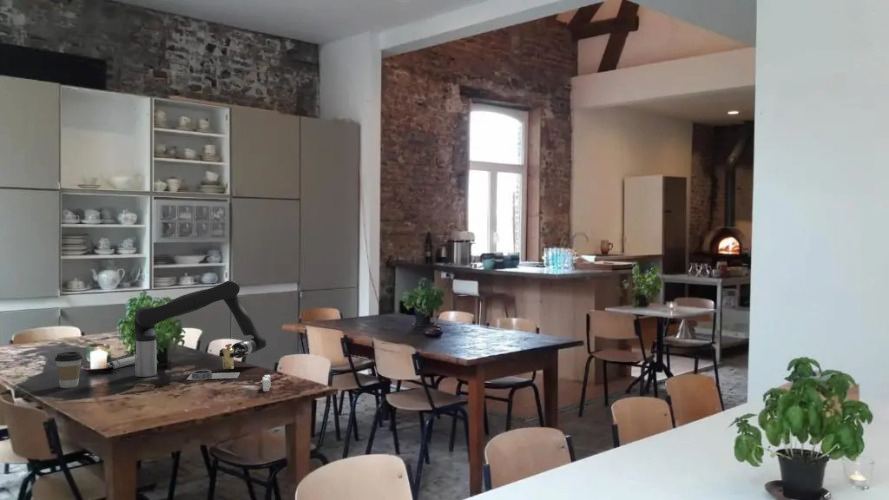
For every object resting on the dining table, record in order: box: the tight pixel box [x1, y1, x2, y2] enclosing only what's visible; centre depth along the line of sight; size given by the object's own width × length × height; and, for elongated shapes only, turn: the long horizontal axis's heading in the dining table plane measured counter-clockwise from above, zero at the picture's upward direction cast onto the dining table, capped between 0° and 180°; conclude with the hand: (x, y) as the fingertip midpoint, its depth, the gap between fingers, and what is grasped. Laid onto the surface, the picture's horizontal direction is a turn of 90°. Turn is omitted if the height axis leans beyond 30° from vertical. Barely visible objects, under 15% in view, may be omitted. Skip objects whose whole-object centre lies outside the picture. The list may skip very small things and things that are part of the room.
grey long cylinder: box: [108, 355, 135, 370], centre depth 379 cm, size 5×7×25 cm
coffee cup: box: [54, 351, 83, 389], centre depth 329 cm, size 11×11×15 cm
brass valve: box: [222, 343, 235, 370], centre depth 348 cm, size 5×5×11 cm
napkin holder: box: [262, 374, 272, 392], centre depth 329 cm, size 15×11×6 cm
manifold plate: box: [186, 369, 241, 380], centre depth 347 cm, size 23×13×4 cm, turn 100°
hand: (225, 355), depth 345 cm, fingers closed on brass valve, 5 cm apart
